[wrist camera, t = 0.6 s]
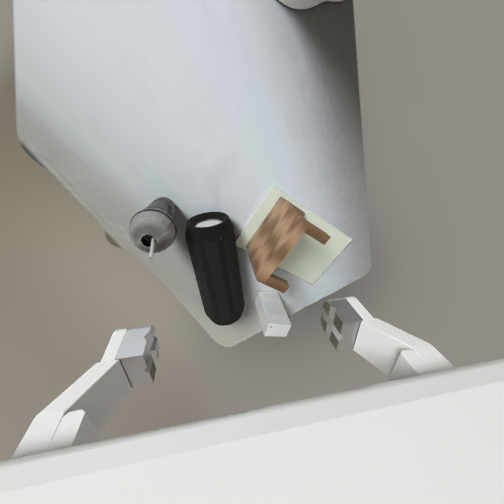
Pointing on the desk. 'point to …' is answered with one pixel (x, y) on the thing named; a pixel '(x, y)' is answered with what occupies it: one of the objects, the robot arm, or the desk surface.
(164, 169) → the desk surface
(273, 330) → the skincare box
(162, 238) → the beverage cup
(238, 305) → the portable speaker
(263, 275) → the stool
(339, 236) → the mat
